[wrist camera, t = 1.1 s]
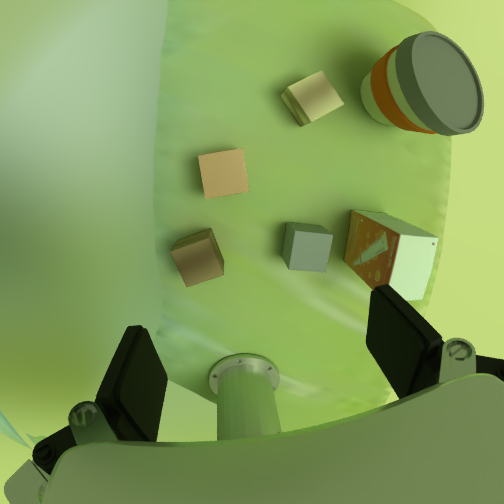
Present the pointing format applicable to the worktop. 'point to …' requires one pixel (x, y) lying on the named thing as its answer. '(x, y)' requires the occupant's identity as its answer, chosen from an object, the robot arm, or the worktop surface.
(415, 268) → the small box
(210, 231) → the walnut cube
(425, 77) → the reusable coffee cup
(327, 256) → the slate grey cube
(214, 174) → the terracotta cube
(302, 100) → the pale oak cube
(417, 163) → the worktop surface
